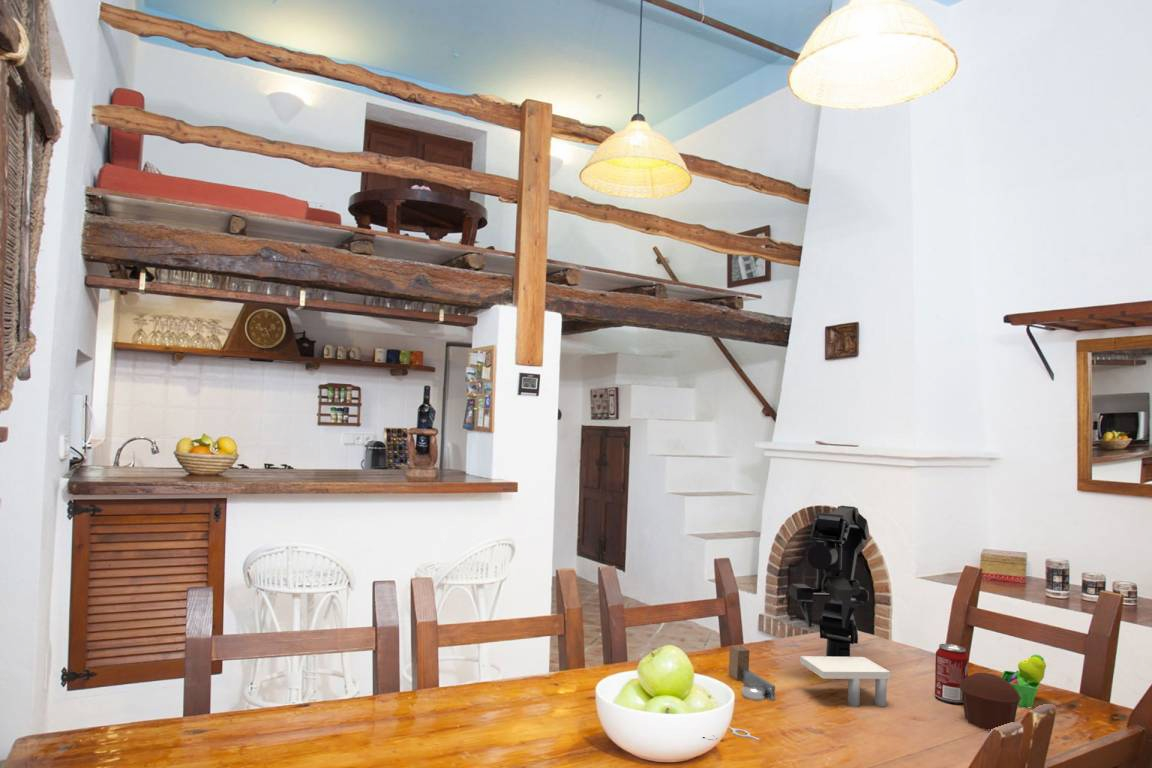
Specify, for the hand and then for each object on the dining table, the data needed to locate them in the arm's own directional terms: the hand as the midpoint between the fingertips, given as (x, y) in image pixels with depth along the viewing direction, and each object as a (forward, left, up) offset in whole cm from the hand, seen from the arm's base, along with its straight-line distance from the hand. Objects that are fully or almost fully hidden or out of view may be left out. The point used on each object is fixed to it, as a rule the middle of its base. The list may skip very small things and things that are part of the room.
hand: (827, 627), depth 189 cm
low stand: (+15, -3, -12) cm, 19 cm away
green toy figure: (+17, +41, -12) cm, 46 cm away
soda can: (+16, +23, -12) cm, 30 cm away
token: (+14, -24, -12) cm, 30 cm away
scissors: (+28, -40, -13) cm, 50 cm away
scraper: (+8, -22, -12) cm, 26 cm away
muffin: (+30, +22, -12) cm, 39 cm away
